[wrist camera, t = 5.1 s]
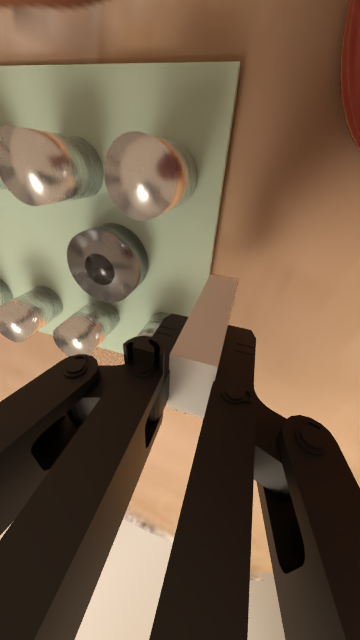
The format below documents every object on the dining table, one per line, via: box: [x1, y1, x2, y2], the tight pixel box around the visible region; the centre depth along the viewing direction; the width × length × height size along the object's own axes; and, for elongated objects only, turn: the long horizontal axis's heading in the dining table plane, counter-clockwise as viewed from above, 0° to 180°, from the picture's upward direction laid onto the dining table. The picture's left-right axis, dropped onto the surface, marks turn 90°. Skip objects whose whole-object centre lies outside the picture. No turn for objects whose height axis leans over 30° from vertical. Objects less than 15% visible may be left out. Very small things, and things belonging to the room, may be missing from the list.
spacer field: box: [0, 61, 241, 354], centre depth 18 cm, size 24×20×1 cm
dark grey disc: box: [67, 223, 149, 303], centre depth 16 cm, size 5×5×2 cm
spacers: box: [0, 125, 198, 356], centre depth 16 cm, size 21×14×4 cm
